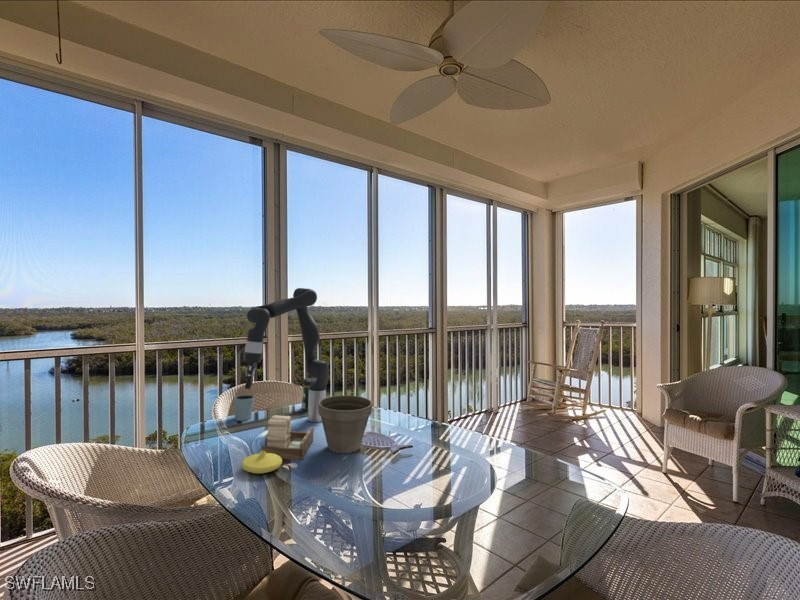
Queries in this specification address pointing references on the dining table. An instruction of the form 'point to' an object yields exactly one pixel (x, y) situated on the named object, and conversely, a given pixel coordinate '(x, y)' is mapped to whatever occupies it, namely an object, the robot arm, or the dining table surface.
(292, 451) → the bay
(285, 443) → the stacked wooden blocks
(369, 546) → the dining table surface
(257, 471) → the yellow knobbed lid
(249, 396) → the light blue cup
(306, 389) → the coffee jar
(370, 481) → the dining table surface
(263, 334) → the robot arm
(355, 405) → the plant pot
